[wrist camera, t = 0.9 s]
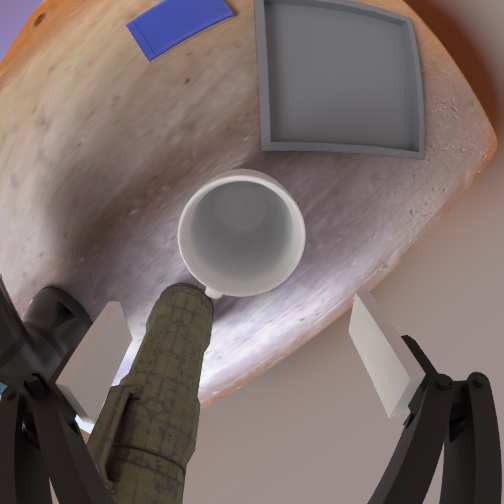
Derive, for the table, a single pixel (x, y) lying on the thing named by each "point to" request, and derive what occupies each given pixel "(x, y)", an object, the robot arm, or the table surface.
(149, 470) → the thermos
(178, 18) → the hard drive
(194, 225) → the mug
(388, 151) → the tray
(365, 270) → the table surface
